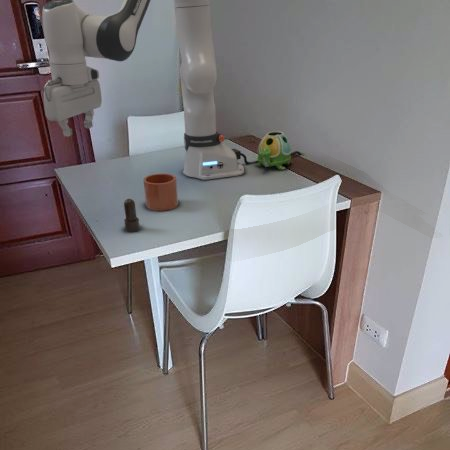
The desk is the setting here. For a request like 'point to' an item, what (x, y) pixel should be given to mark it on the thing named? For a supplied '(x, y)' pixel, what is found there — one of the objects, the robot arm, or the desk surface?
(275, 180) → the desk surface
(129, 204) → the pestle
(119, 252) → the desk surface
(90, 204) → the desk surface
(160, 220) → the desk surface
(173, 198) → the cup
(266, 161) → the turtle holder
